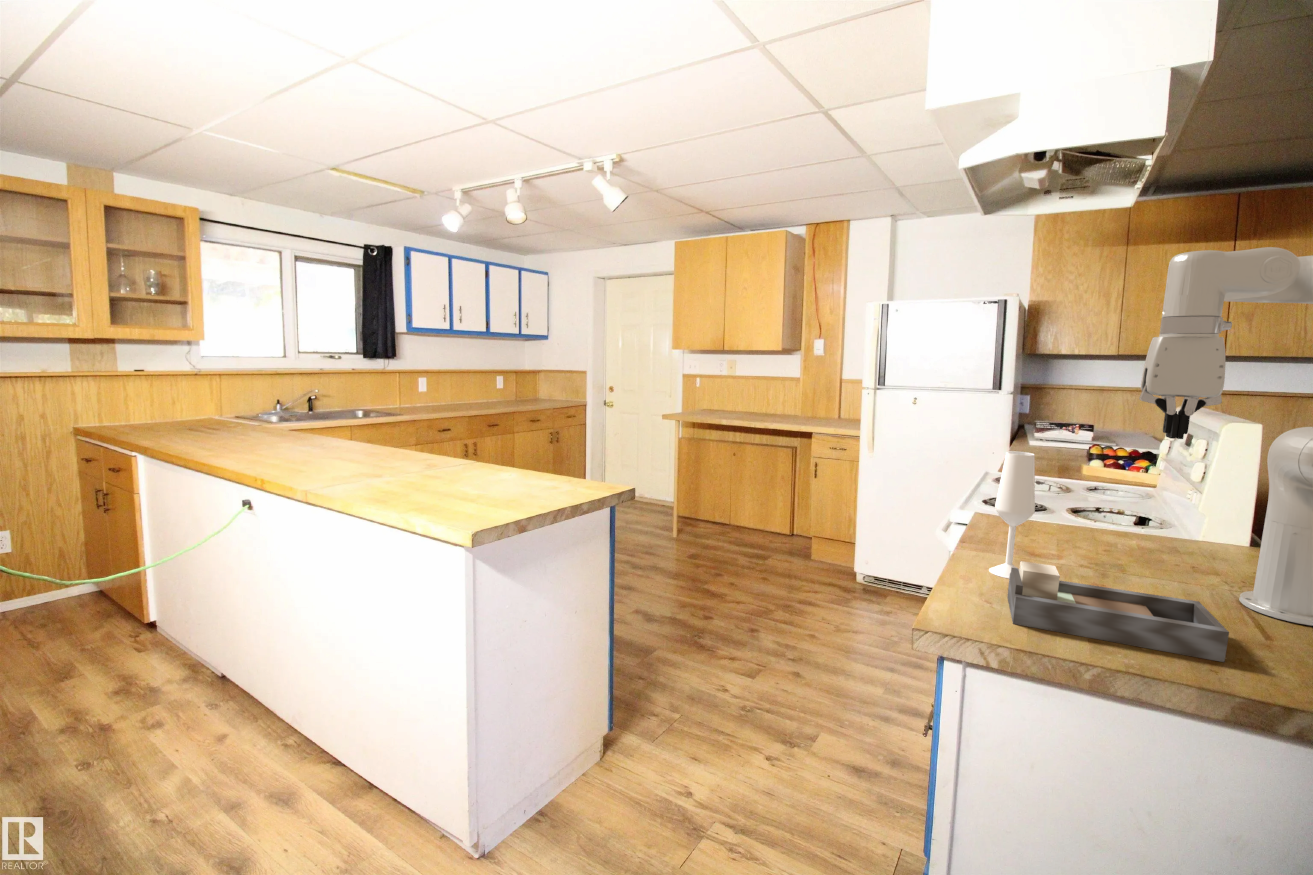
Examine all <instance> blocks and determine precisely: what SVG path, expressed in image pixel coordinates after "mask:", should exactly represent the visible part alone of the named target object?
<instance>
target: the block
mask: <svg viewBox="0 0 1313 875" xmlns="http://www.w3.org/2000/svg"><path fill="white" fill-rule="evenodd" d="M1018 569H1019V573H1020V577H1021V580H1022V584H1023V592H1022V595H1026V596H1032V597H1038V598H1044V599H1050V600H1057V596H1058V587H1059V580H1060V576H1061V575H1060V574H1059V571H1058V569H1057V567H1056V565H1051V564H1045V563H1043V564H1042V563H1036V562H1029V561H1024V560H1023V561H1022V560H1021V561H1020V562H1019V568H1018Z"/></svg>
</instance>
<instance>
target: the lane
mask: <svg viewBox="0 0 1313 875" xmlns="http://www.w3.org/2000/svg"><path fill="white" fill-rule="evenodd" d="M1018 569H1019V568H1018V567H1017V568H1012V567H1011V573H1010V577H1009V578H1008V588H1007V601H1008V602H1007V603H1008V607H1009V612H1010V616H1011V621H1012V624H1013V625H1019V626H1023V627H1024V626H1025V627H1029V628H1034V629H1040V630H1045V631H1052V632H1057V633H1063V634H1068V635H1072V636H1073V635H1074V636H1077V637H1085V638H1089V639H1096V640H1099V641H1105V642H1111V643H1112V642H1113V643H1117V644H1121V645H1128V646H1132V647H1133V646H1134V647H1140V648H1145V649H1149V650H1154V651H1155V650H1156V651H1161V652H1167V653H1172V654H1175V655H1176V654H1177V655H1183V656H1187V657H1193V658H1200V659H1205V660H1208V661H1209V660H1210V661H1216V662H1220V663H1221V662H1222V663H1226V662H1225V660H1226V654H1227V648H1228V642H1229V636H1230V632H1229V630H1227V628H1225V626H1223V624H1222V623H1221V622H1220V621H1219V620H1217V618H1216V617H1215V616H1214V615H1213V614H1212V613H1211V612H1210V611H1209V610H1208V609H1207V608H1206V606H1204V605H1203V604H1202V603H1201V602H1200V601H1198V600H1191V599H1185V598H1178V597H1172V596H1167V595H1166V596H1164V595H1158V594H1153V593H1146V592H1138V591H1132V590H1125V589H1118V588H1114V587H1113V588H1112V587H1105V586H1098V585H1094V584H1093V585H1092V584H1085V583H1080V582H1072V581H1065V580H1060V579H1059V587H1058V596H1057V600H1050V599H1044V598H1038V597H1032V596H1026V595H1022V592H1023V584H1022V580H1021V577H1020V573H1019V570H1018Z"/></svg>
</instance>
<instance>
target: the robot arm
mask: <svg viewBox="0 0 1313 875" xmlns="http://www.w3.org/2000/svg"><path fill="white" fill-rule="evenodd" d="M1168 264H1169V265H1168V268H1167V274H1166V275H1167V276H1166V285H1165V289H1164V290H1165V291H1164V297H1163V298H1164V299H1163V306H1162V312H1161V319H1160V329H1159V335H1158V336H1155V337H1152V339H1151V342H1150V344H1149V347H1148V349H1147V350H1148V351H1147V353H1146V358H1145V361H1144V367H1143V370H1142V375H1141V380H1140V390H1141V393H1140V396H1139V399H1138V400H1140V401H1141V402H1144V403H1149V404H1153V405H1155V406H1157V407H1158V409H1159V410H1160V411H1162V413H1164V417H1163V418H1164V419H1163V425H1162V433H1163V434H1165V437H1166V438H1168V439H1172V440H1173V439H1178V440H1183V439H1184V435H1187V434H1188V432H1189V426H1190V420H1191V419H1190V418H1191V416H1193V415H1194V414H1195V413H1196V412H1198V411H1199V410H1200V409H1202V408H1204V407H1209V406H1217V405H1220V404H1222V403H1223V401H1222V400H1223V399H1222V393H1223V391H1224V387H1225V386H1224V385H1225V378H1226V346H1225V338H1224V337H1223V336H1220V334H1222V331H1223V332H1224V331H1227V330H1229V331H1230V330H1231V329H1232V326H1233V322H1232V321H1227V320H1224V317H1222V314H1223V311H1224V310H1223V309H1224V302H1232V303H1234V302H1236V303H1259V304H1260V303H1264V304H1265V303H1267V304H1270V303H1271V304H1275V303H1276V304H1277V303H1278V304H1280V303H1281V304H1307V305H1313V254H1312V255H1304V256H1297V255H1296V254H1295V253H1293V252H1292V251H1290V250H1288V249H1286V248H1281V247H1275V246H1273V247H1272V246H1267V247H1258V248H1251V249H1244V250H1242V249H1241V250H1232V251H1223V250H1214V249H1213V250H1212V249H1211V250H1210V249H1208V250H1194V251H1188V252H1187V251H1185V252H1183V253H1181V252H1180V253H1179V254H1176V255H1174V256H1173V257H1172V258H1171V259H1170V260H1169V263H1168ZM1159 396H1160V397H1159ZM1176 397H1181V398H1183V400H1182V402H1181V405H1180V407H1179V408H1180V409H1179V410H1178V411H1177V405H1176V404H1177V403H1176V402H1177V401H1176ZM1266 460H1267V463H1266V464H1267V473H1268V497H1267V498H1268V499H1267V500H1268V501H1267V505H1266V506H1267V507H1266V513H1265V518H1264V523H1263V524H1264V525H1263V531H1262V536H1261V543H1260V548H1259V549H1260V550H1259V556H1258V560H1257V567H1256V573H1255V577H1254V578H1255V579H1254V585H1253V590H1250V591H1249V590H1247V591H1243V592H1242V593H1240V594H1239V598H1238V599H1239V602H1240V603H1241V604H1242V605H1243V606H1245V607H1246V608H1248V609H1250V610H1252V611H1255V612H1257V613H1258V614H1259V613H1260V614H1263V615H1265V616H1268V617H1271V618H1273V619H1274V618H1275V619H1278V620H1282V621H1287V622H1289V623H1294V624H1300V625H1306V626H1311V627H1313V426H1302V427H1296V428H1292V429H1289V430H1288V431H1284V432H1283V433H1282V434H1280V435H1278V437H1276V438H1275V439H1274V440H1273V441H1272V443H1271V445H1270V447H1269V450H1268V452H1267V459H1266Z"/></svg>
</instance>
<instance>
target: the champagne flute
mask: <svg viewBox="0 0 1313 875" xmlns="http://www.w3.org/2000/svg"><path fill="white" fill-rule="evenodd" d="M1035 456H1036V454H1034V453H1031V452H1029V451H1027V452H1026V451H1019V450H1016V451H1014V450H1009V451H1005V456H1004V460H1003V464H1002V465H1003V466H1002V470H1001V474H1000V475H1001V476H1000V480H999V486H998V489H997V494H996V499H995V504H994V509H995V512H996V513H997V514H998V516H999V517H1000V518H1001V519H1002V521H1004V522H1005V523H1006V525H1008V534H1007V546H1006V555H1005V562H1004V563H1002V564H997V565H996V566H992V567H990V568H989V569H988V571H989V573H990V574H992V575H995V576H998V577H1001V578H1004V579H1005V578H1006V579H1009V577H1010V573H1011V567H1012V568H1018V567H1017V566H1015V565H1014V564H1013V562H1014V554H1015V553H1014V552H1015V540H1016V532H1017V527H1018V526H1020V525H1022V524H1024V523H1025V522H1027V521H1029V520H1030V519H1031V518H1033V517H1032V516H1034V514H1035V510H1036V505H1035V504H1036V502H1035V501H1036V500H1035V499H1036V494H1035V493H1036V491H1035V490H1036V489H1035V488H1036V485H1035V484H1036V483H1035V480H1036V479H1035V478H1036V476H1035V475H1036V474H1035V472H1036V470H1035V469H1036V468H1035V466H1036V465H1035V462H1036V461H1035V460H1036V459H1035V458H1036V457H1035ZM1019 569H1020V568H1018V570H1019Z"/></svg>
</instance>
